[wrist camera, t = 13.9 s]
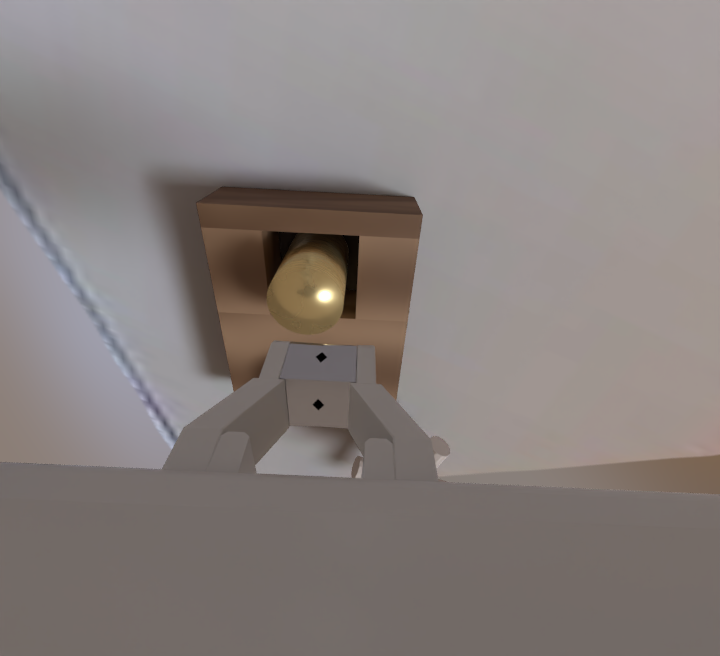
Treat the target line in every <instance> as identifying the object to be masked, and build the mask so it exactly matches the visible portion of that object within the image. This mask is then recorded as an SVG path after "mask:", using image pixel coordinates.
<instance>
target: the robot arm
mask: <svg viewBox="0 0 720 656" xmlns="http://www.w3.org/2000/svg"><path fill="white" fill-rule="evenodd" d="M289 426H320V427H334V428H347V429H348V431H349V433H350V434H351V436H352V438H353V439H354V441H355V443H356V445H357V446H358V448H359V450H360V451H361V453H362V455H363V465H362V475H361V478H343V477H321V476H299V475H277V474H257V473H256V468H255V465H256V464H257V463H258V462H259V461H260V459H261V458H262V457H263V456H264V455H265V454H266V453H267V452H268V451H269V449H270V448H271V447H272V446H273V445H274V444H275V443H276V442H277V440H278V439H279V438H280V437H281V436H282V435H283V434H284V433H285V432H286V430H287V429H288V428H289ZM0 656H720V495H719V494H696V493H695V494H694V493H673V492H652V491H629V490H628V491H627V490H608V489H607V490H606V489H586V488H585V489H584V488H563V487H541V486H519V485H498V484H476V483H475V484H473V483H453V482H439V481H438V476H437V470H436V464H435V458H434V453H433V447H432V441H431V439H430V438H429V437H428V436H427V435H426V434H425V432H424V431H423V430H422V429H421V428H420V427H419V426H418V425H417V424H416V422H415V421H414V420H413V419H412V418H411V417H410V416H409V415H408V414H407V412H406V411H405V410H404V409H403V408H402V407H401V406H400V405H399V404H398V402H397V401H396V400H395V399H394V398H393V397H392V396H391V395H390V394H389V392H388V391H387V390H386V389H385V388H384V387H383V386H382V385H381V384H376V362H375V347H374V345H358V346H357V345H336V344H320V343H306V342H293V341H291V342H290V341H275V340H274V341H273V342H272V343H271V345H270V348H269V351H268V354H267V356H266V359H265V362H264V365H263V367H262V370H261V373H260V376H259V378H253V379H251V380H250V381H249V382H247V383H246V384H244V385H243V386H242V387H240V388H239V389H237V390H236V391H234V392H233V393H232V394H230V395H229V396H227V397H226V398H225V399H223V400H222V401H220V402H219V403H218V404H216V405H215V406H213V407H212V408H211V409H209V410H208V411H206V412H205V413H204V414H202V415H201V416H199V417H198V418H197V419H195V420H194V421H192V422H191V423H190V424H188V425H187V426H185V427H184V428H183V430H182V432H181V434H180V436H179V437H178V439H177V441H176V443H175V445H174V447H173V449H172V451H171V453H170V455H169V457H168V458H167V460H166V462H165V464H164V466H163V468H162V469H145V468H123V467H122V468H121V467H100V466H78V465H55V464H33V463H10V462H0Z"/></svg>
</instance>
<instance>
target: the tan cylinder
mask: <svg viewBox="0 0 720 656" xmlns="http://www.w3.org/2000/svg"><path fill="white" fill-rule="evenodd" d="M348 262H349V248H348V245H347V242H346V240H345V239H344V237H343V236H342V235H335V234H316V233H297V235H296V236H295V237H294V239H293V241H292V243H291V245H290V247H289V249H288V251H287V253H286V255H285V256H284V258H283V260H282V262H281V264H280V266H279V268H278V270H277V272H276V274H275V276H274V278H273V279H272V281H271V283H270V285H269V288H268V291H267V305H268V308H269V311H270V313H271V315H272V316H273V318H274V319H275V320H276V321H277V322H278V323H279V324H280V325H281V326H283V327H284V328H286V329H288V330H290V331H292V332H295V333H298V334H304V335H313V334H319V333H322V332H325V331H327V330H329V329H330V328H332V327H333V326H334V325H335V324H336V323H337V322H338V320H339V319H340V317H341V314H342V311H343V305H344V296H345V288H346V279H347V270H348Z"/></svg>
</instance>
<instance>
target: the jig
mask: <svg viewBox="0 0 720 656" xmlns="http://www.w3.org/2000/svg"><path fill="white" fill-rule="evenodd" d="M196 205H197V210H198V215H199V220H200V225H201V230H202V235H203V240H204V245H205V250H206V255H207V260H208V265H209V270H210V275H211V280H212V285H213V290H214V295H215V300H216V305H217V310H218V315H219V320H220V325H221V330H222V335H223V340H224V345H225V350H226V355H227V360H228V365H229V370H230V375H231V380H232V385H233V390H234V391H236V390H237V389H239V388H240V387H242V386H243V385H244V384H246V383H247V382H249V381H250V380H251V379H253V378H259V376H260V373H261V370H262V367H263V365H264V362H265V359H266V356H267V354H268V351H269V348H270V345H271V343H272V342H273V341H274V340H275V341H290V342H291V341H293V342H306V343H320V344H336V345H357V346H358V345H374V347H375V362H376V384H381V385H382V386H383V387H384V388H385V389H386V390H387V391H388V392H389V394H390V395H391V396H392V397H393V398H394V399H395V400H396V398H397V391H398V384H399V377H400V370H401V363H402V356H403V349H404V342H405V335H406V328H407V321H408V314H409V307H410V300H411V293H412V286H413V279H414V272H415V265H416V258H417V251H418V244H419V238H420V231H421V224H422V217H423V215H422V213H421V210H420V208H419V206H418V204H417V202H416V200H415V198H414V197H401V196H383V195H364V194H346V193H327V192H309V191H290V190H272V189H253V188H235V187H221V188H219V189H218V190H216V191H215V192H213V193H211V194H210V195H208V196H207V197H205V198H203V199H202V200H200V201H198V202H197V203H196ZM279 232H297V233H316V234H335V235H354V236H360V237H359V258H358V278H357V290H345V296H344V305H343V311H342V314H341V317H340V319H339V320H338V322H337V323H336V324H335V325H334V326H333V327H332V328H330V329H329V330H327V331H325V332H322V333H319V334H313V335H304V334H298V333H295V332H292V331H290V330H288V329H286V328H284V327H283V326H281V325H280V324H279V323H278V322H277V321H276V320H275V319H274V318H273V316H272V315H271V313H270V311H269V308H268V305H267V291H268V288H269V285H270V283H271V281H272V279H273V278H274V276H275V274H276V272H277V270H278V268H279V266H280V264H281V256H280V243H279Z"/></svg>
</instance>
